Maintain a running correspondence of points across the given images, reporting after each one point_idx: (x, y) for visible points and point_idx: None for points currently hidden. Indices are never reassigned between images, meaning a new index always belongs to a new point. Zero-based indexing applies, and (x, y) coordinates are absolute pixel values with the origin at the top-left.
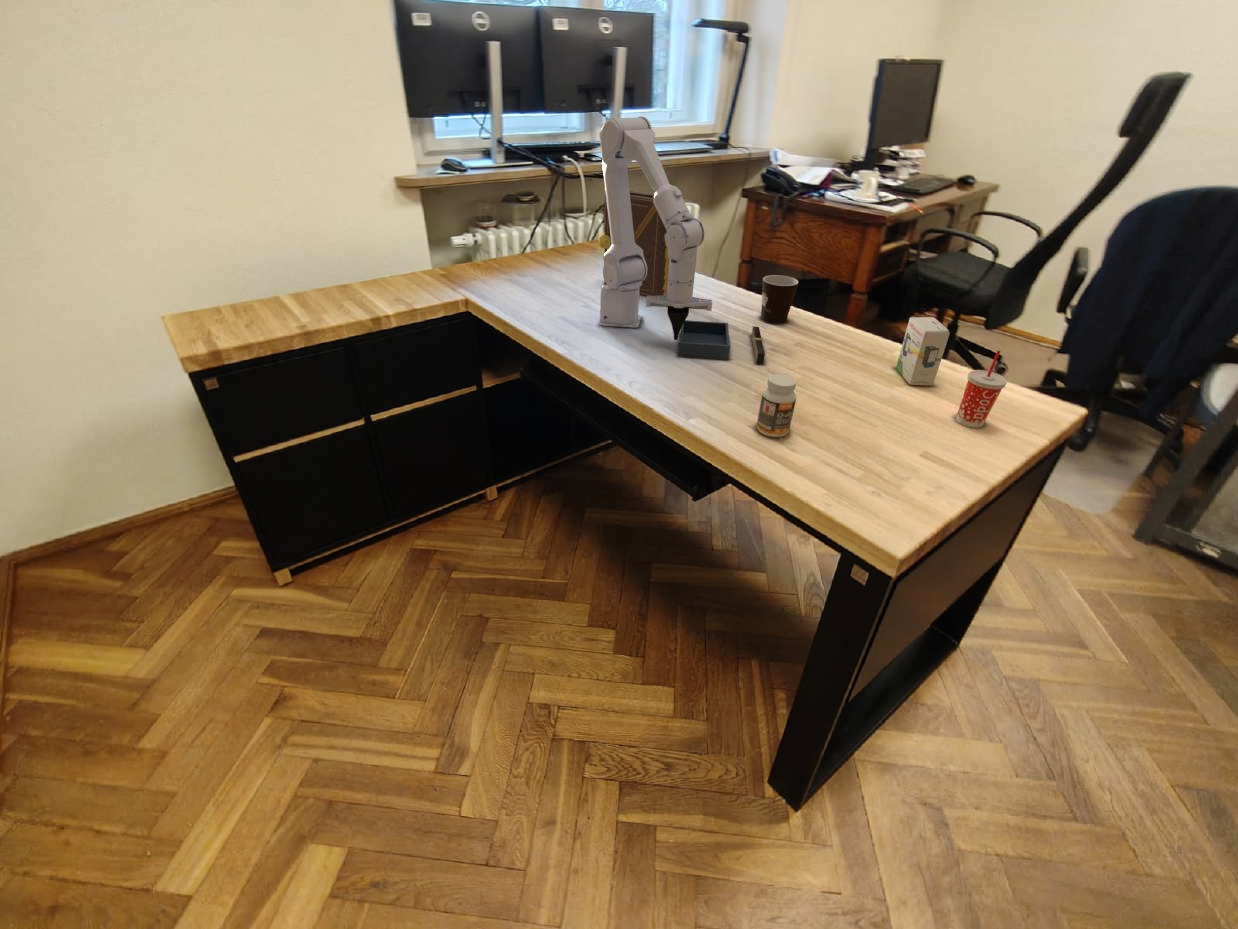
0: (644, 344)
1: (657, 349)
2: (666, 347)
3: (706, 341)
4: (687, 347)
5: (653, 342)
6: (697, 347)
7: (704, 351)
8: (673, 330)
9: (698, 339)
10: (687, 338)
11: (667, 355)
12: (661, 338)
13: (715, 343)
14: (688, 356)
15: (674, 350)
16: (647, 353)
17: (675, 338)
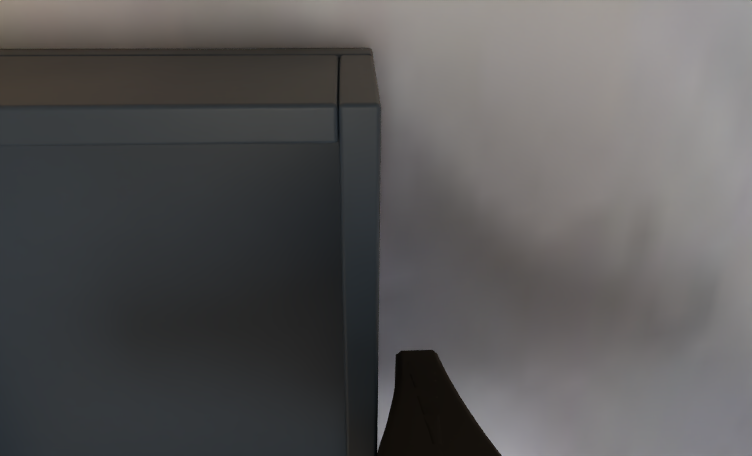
0: (712, 289)
1: (597, 201)
2: (499, 262)
3: (111, 415)
4: (256, 81)
5: (616, 342)
6: (107, 89)
7: (19, 73)
8: (471, 417)
9: (195, 440)
10: (300, 442)
11: (499, 64)
12: (533, 425)
13: (14, 393)
14: (248, 50)
15: (417, 208)
16: (727, 80)
17: (422, 356)
